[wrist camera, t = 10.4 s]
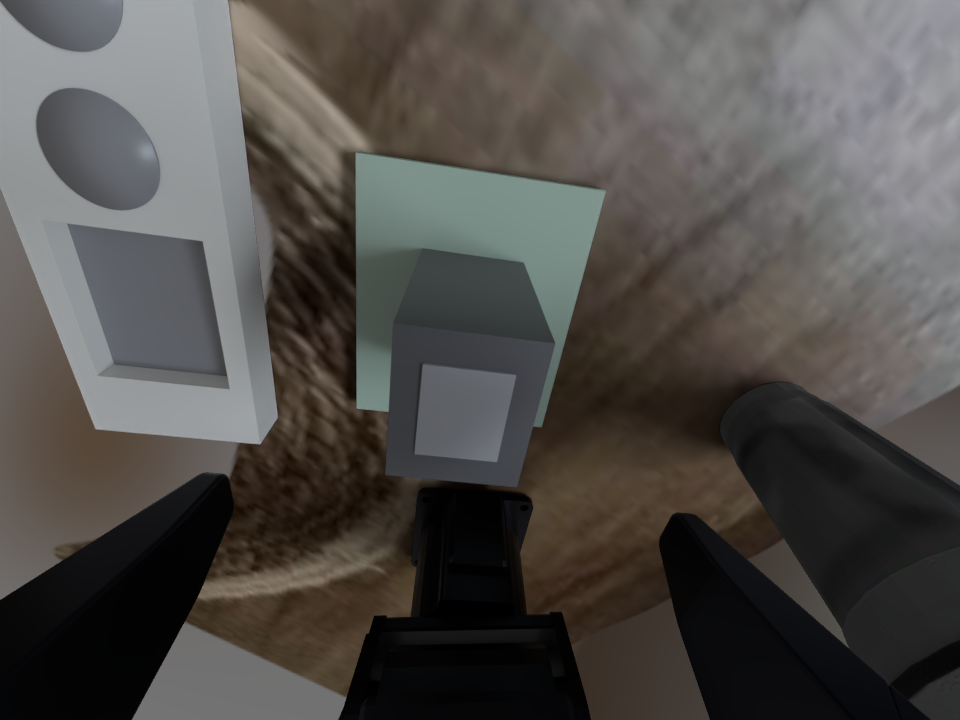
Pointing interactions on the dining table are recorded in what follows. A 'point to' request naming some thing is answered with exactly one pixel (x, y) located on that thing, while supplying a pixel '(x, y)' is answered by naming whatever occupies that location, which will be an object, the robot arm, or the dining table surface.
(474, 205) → the mat
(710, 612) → the robot arm
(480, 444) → the block
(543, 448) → the dining table surface
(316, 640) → the dining table surface
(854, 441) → the beverage cup
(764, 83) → the dining table surface
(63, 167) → the power strip
